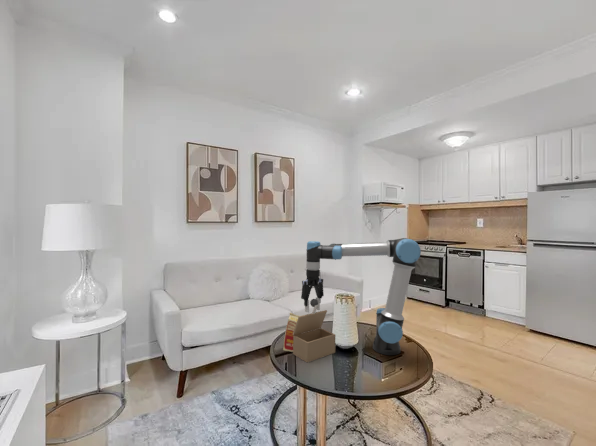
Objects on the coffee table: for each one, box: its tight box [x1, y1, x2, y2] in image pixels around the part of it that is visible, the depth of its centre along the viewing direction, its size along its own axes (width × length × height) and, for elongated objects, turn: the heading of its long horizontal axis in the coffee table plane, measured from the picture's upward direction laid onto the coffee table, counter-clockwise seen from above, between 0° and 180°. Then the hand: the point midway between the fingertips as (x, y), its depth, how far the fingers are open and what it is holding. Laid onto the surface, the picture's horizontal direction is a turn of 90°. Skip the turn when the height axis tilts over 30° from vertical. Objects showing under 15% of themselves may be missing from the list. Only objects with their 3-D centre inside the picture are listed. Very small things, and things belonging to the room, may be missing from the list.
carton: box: [292, 327, 336, 363], centre depth 159 cm, size 12×20×10 cm, turn 127°
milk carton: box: [282, 312, 300, 353], centre depth 166 cm, size 9×9×20 cm
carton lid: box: [293, 298, 328, 335], centre depth 162 cm, size 20×20×5 cm
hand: (312, 310), depth 161 cm, fingers open, 7 cm apart
